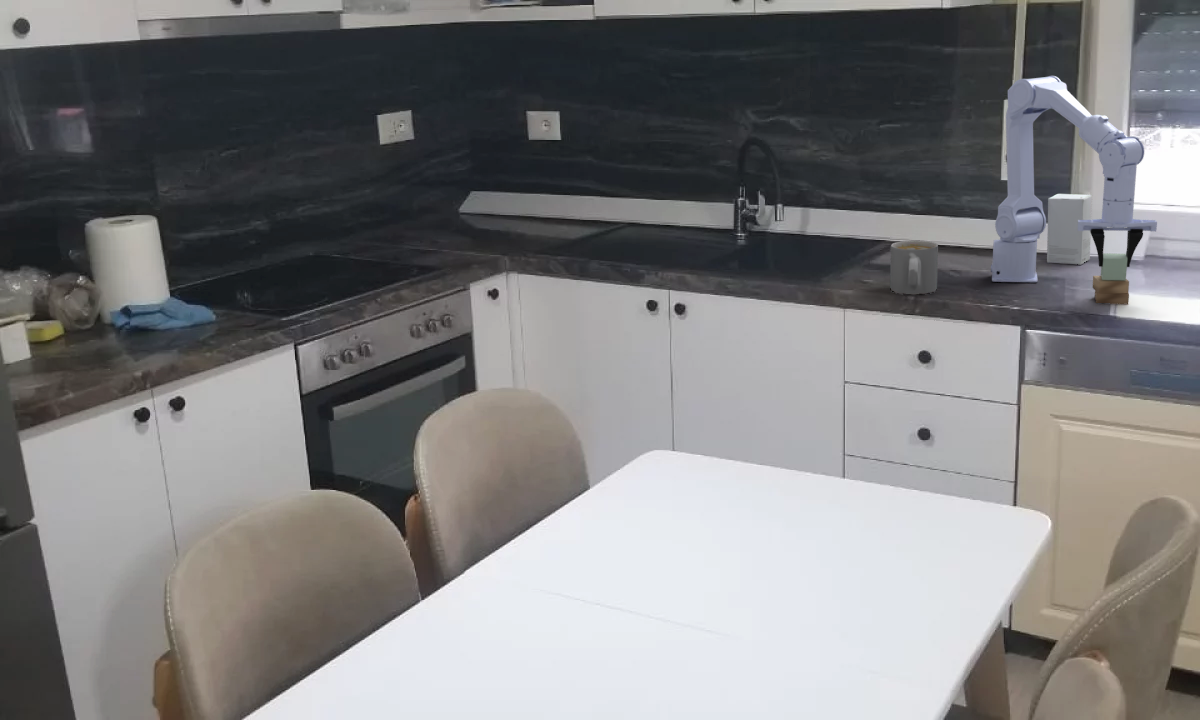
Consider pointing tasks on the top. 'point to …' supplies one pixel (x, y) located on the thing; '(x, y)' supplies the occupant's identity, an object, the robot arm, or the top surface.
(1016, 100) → the robot arm
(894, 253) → the coffee mug
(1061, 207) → the skincare box
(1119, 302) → the tower base
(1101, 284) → the tower top
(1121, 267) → the block
